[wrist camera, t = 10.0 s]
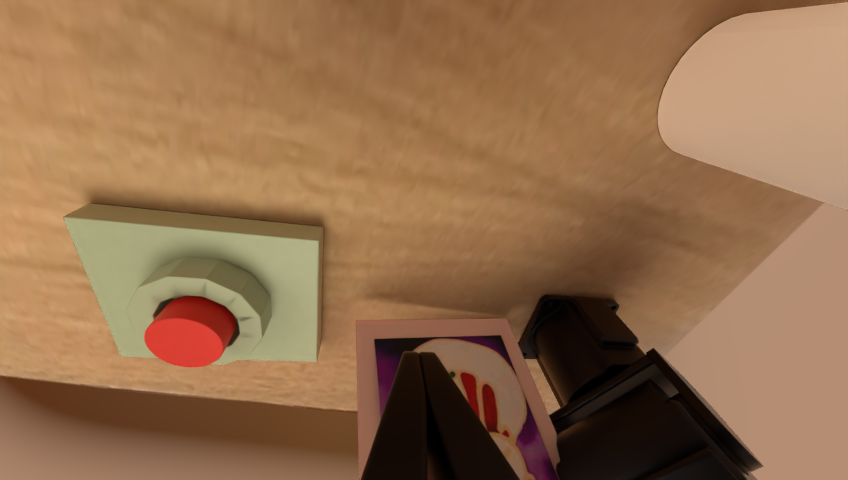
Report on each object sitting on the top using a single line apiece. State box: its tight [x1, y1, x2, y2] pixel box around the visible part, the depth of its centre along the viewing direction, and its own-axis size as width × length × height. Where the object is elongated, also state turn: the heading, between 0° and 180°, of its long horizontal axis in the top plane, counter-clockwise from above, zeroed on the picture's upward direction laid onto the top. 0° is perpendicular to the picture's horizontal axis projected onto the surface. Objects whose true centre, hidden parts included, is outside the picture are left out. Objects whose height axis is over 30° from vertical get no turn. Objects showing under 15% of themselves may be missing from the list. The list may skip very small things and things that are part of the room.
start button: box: [144, 296, 236, 367], centre depth 17 cm, size 4×4×2 cm
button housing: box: [63, 203, 324, 365], centre depth 19 cm, size 10×12×4 cm
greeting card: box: [356, 318, 560, 480], centre depth 19 cm, size 11×7×15 cm, turn 78°
